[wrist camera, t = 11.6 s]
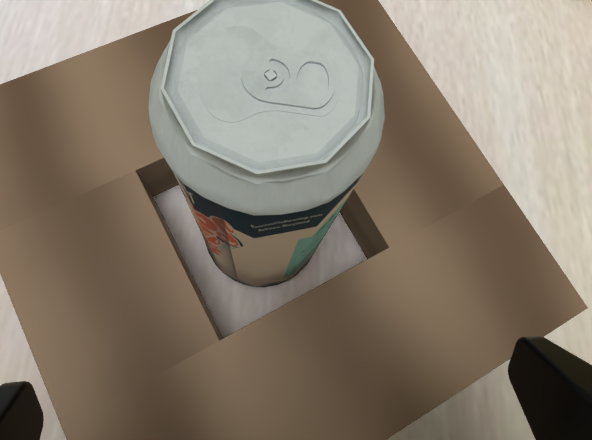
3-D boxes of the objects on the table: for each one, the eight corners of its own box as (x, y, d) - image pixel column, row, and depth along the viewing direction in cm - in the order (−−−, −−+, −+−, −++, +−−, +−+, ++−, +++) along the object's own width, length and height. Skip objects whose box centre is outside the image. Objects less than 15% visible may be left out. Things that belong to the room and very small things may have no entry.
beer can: (215, 175, 20) (163, -52, 9) (320, 188, 21) (403, -14, 9) (197, 281, 19) (109, 179, 7) (310, 294, 19) (393, 215, 8)
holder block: (154, 559, 16) (132, 604, 13) (-19, 144, 20) (-66, 109, 17) (539, 313, 20) (587, 307, 17) (334, 2, 23) (346, -47, 21)
